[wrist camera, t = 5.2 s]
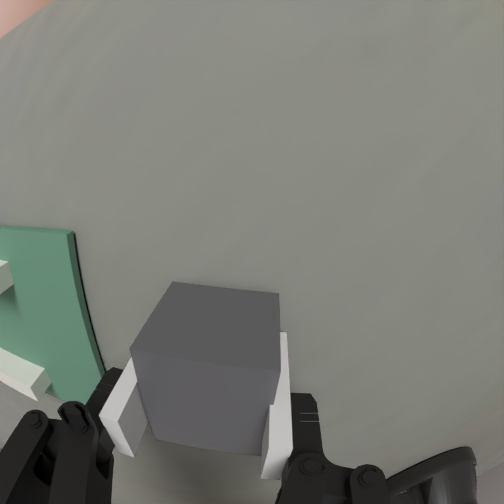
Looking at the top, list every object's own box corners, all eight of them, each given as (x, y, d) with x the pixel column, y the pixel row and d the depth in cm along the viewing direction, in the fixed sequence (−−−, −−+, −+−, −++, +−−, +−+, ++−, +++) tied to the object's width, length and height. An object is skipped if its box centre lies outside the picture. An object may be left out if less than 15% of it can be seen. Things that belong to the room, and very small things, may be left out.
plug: (265, 382, 15) (261, 455, 11) (176, 370, 15) (151, 437, 11) (279, 293, 13) (280, 370, 8) (168, 281, 13) (124, 347, 9)
